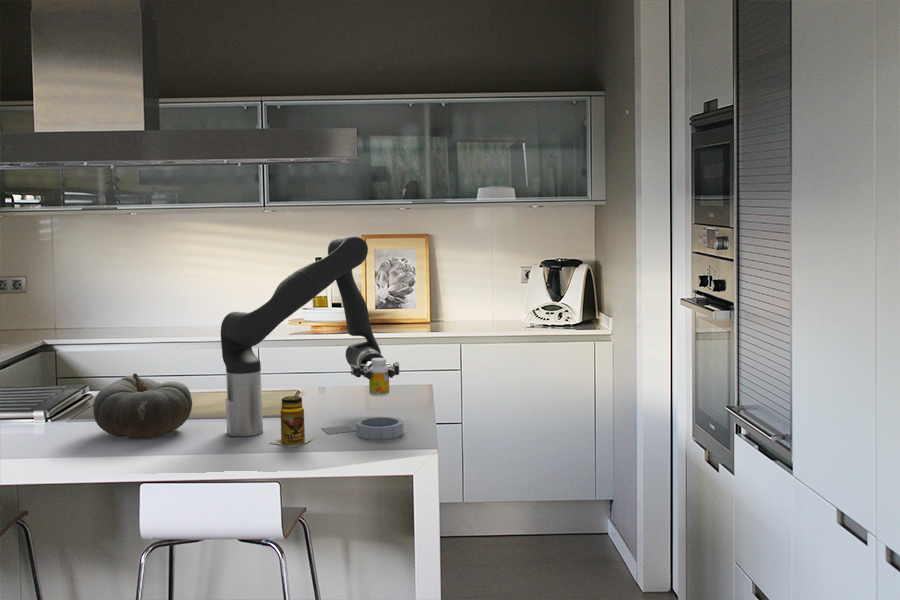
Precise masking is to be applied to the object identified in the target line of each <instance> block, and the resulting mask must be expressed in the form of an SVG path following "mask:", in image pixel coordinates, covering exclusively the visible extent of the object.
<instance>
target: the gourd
mask: <svg viewBox="0 0 900 600" xmlns="http://www.w3.org/2000/svg"><path fill="white" fill-rule="evenodd" d="M92 406H93V415H94V416H93V417H94V420H95V423H96V424H97V426H98V427H99V428H100V429H101V430H102V431H104V432H105V433H107V434H109V435H111V436H113V437H116V438H123V437H126V438H128V439H133V440H150V439H155V438H159V437H163V436H165V435H167V434H170V433H171V432H173V431H176V430H177V429H179V428H180V427H181V426H183V425H184V424H185V423H186V421H187V420H188V419H189V417H190V416H191V413H192V408H193V399H192V395H191V392H190V389H189V387H188V386H186V384H184V383H182V382H179V381H165V382H163V383H161V382H158V381H155V380H154V379H150V378H142V377H139V376H138V374H137V373H135V372H134V373H133V374H132V376H131V375H128V376H123V377H122V378H120V379H119V380H116V381H113V382H112V383H110V384H108V385H106V386H104V387H103V388H102V389H101V390H100V391H99V392H98V393H97V394H96V396H95V398H94V400H93V405H92Z"/></svg>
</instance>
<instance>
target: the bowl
mask: <svg viewBox="0 0 900 600" xmlns="http://www.w3.org/2000/svg"><path fill="white" fill-rule="evenodd" d="M404 427H405V426H404V420H403V419H401V418H399V417H393V416H373V417H370V416H369V417H365V418H362V419H359V420H357V422H355V430H356V431H355V433H356V436H357V437H359V438H360V439H365V440H374V441H375V440H379V441H380V440H381V441H382V440H390V439H396V438H399V437H402V436H403V434H404V431H405V430H404Z"/></svg>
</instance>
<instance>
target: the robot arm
mask: <svg viewBox="0 0 900 600" xmlns="http://www.w3.org/2000/svg"><path fill="white" fill-rule="evenodd" d="M368 253H369V246H368V244H367V242H366V241H365V240H364V238H361V237H360V236H357V235H347V236H340V237H335V238H333V239H332V240H331V241H330V242H329V244H328V247H327V256H325V257H323V258H321V259H318V260H316V261H314V262H311V263H309V264H307V265H304V266H303V267H301V268H298V269H297V270H295V271H294V272H292V273H291V274H290V275H288V276H287V277H286V278H284V279H283V280H282V281H280V283H279V284H278V285H277V287H276V289H275V290H274V292H273V294H272V296H271V297H270V298H269V300H267V302H265V303H264V304H262V305H261V306H259V307H258V308H256V309H254V310H252V311H250V312H244V311H232V312H229V313H227V314H226V315H225V316H224V318H223V319H222V321H221V326H220V344H221V346H220V347H221V356H222V361H223V364H224V365H225V371H226V372H225V373H226V374H225V375H226V377H225V378H226V398H225V412H226V413H225V416H226V432H227V434H228V435H229V437H231V438H232V437H250V436H251V437H253V436H257V435H259V434H262V433H263V432H264V423H263V422H264V421H263V401H262V399H263V397H262V396H263V394H262V366H261V364H262V363H261V360H260V359H259V357H257V356H256V354H255V353H254V351H253V348H252V347H255V346H257V345H258V344H260V343H261V342H263V340H265V339H266V338H267V337H268V336H269V335H270V334H271V333H272V332H273V331H274V330H275V329H276V328H277V327H278V326H279V325H280V324H281V323H282V322H284V321H285V320H287V319H288V318H289V317H290V316H292V315H294V313H296V312H297V311H298V310H299V309H301V308H303V307H305V306H306V304H308V303H309V302H311V300H313V299H314V298H316V297H317V296H318V295H319V294H321V293H322V292H323V291H324V290H326V289H327V288H328V287H329V286H331V284H333V283H335V282H336V285H337V287H338V291H339V294H340V299H341V301H342V305H343V310H344V311H343V312H344V316H345V322H346V328H347V333H348V335H349V336H352V337H363V338H365V340H366V341H364V342H358V343H352V344H350V345H348V346H347V348H346V349H345V360H346V362H347V363H348V366H350V374H351V376H352V375H353V376H354V377H355V378H360V377H361V376H362V377H363V378H365V379H366V378H367V380H369V379H371V372H370V370H369V368H370V367H372V364H371V359H373V358H385V357H384V356H383V355H382V351H381V347H380V346H379V344H378V342H377V340H376V338H375V335H374V334H373V329H372V326H371V321H370V317H369V310H368V307H367V303H366V300H365V299H364V297H363V294H362V293H361V292H360V290H359V288H358V286H357V283H356V281H355V278H354V275H353V270H354V269H355V268H357V267H359V266H360V265H362V264H363V263H364V261H365V260H366V259H367V256H368ZM385 366H387V367H388V368H389V379H393V378H394V377H395V376H398V375H400V362H399V361H395V362H394V363H392V364H390V363H388V362H386V364H385Z"/></svg>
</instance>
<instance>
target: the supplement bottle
mask: <svg viewBox="0 0 900 600" xmlns="http://www.w3.org/2000/svg"><path fill="white" fill-rule="evenodd" d="M386 363H387V358H385V357H384V358H373V359H371V364H372V367H370V368H369V370H370V372H371V379H368V381H369V382H368V383H369V384H368V385H369V386H368V387H369V388H368V389H369V392H368V393H369V395H370V396H372V397H384V396H385V397H386V396H389V395H390V377H389V368H388V367H387V366H385V364H386Z"/></svg>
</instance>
